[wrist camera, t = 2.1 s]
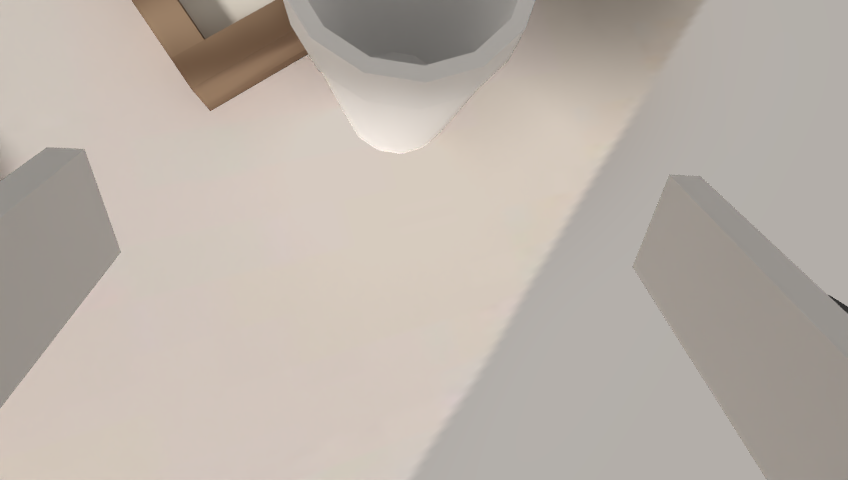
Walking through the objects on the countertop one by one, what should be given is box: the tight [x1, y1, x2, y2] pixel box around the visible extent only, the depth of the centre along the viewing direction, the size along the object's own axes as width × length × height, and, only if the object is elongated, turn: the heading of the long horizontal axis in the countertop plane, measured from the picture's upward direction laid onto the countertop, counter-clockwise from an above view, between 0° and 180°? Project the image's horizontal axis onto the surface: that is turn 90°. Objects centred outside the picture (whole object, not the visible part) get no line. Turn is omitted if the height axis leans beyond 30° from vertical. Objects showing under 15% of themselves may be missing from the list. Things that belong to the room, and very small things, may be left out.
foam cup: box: [283, 0, 536, 154], centre depth 24 cm, size 10×9×13 cm
